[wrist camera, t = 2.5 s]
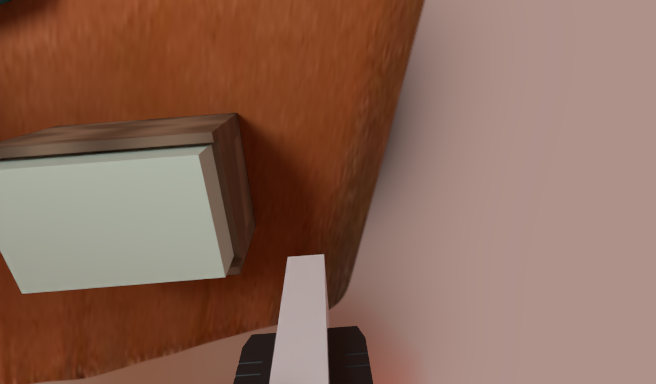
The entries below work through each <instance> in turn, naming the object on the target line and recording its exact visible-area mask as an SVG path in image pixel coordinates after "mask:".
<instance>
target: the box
mask: <svg viewBox="0 0 656 384" xmlns="http://www.w3.org/2000/svg"><path fill="white" fill-rule="evenodd" d="M201 144H211V146H212V151H213V156H214V161H215V165H216V170H217V175H218V180H219V185H220V190H221V195H222V200H223V205H224V210H225V214H226V219H227V224H228V229H229V234H230V239H231V244H232V249H233V254H234V257H233V259H232V262H231V265H230V267H229V270H228V272H227V275H236V274H240V273H241V270H242V267H243V264H244V261H245V258H246V255H247V252H248V249H249V246H250V243H251V240H252V237H253V234H254V231H255V228H256V224H255V218H254V212H253V206H252V200H251V194H250V188H249V182H248V176H247V170H246V164H245V158H244V152H243V146H242V140H241V134H240V128H239V122H238V117H237V113H231V114H217V115H204V116H190V117H177V118H163V119H149V120H136V121H122V122H109V123H95V124H82V125H68V126H55V127H52V128H48V129H44V130H41V131H37V132H34V133H30V134H26V135H23V136H19V137H15V138H12V139H8V140H5V141H1V142H0V160H1V159H14V158H28V157H41V156H54V155H68V154H81V153H94V152H107V151H121V150H134V149H147V148H161V147H174V146H187V145H201Z"/></svg>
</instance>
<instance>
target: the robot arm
mask: <svg viewBox="0 0 656 384" xmlns="http://www.w3.org/2000/svg"><path fill="white" fill-rule="evenodd" d="M233 384H373V380H372V374H371V369H370V363H369V357H368V351H367V345H366V339H365V337H364V335H363V334H362V333H361V331H360V330H359V328H358V327H357V326H352V327H351V326H350V327H337V328H329V310H328V297H327V285H326V273H325V261H324V254H320V255H306V256H293V257H288V259H287V266H286V272H285V279H284V286H283V293H282V300H281V306H280V313H279V320H278V327H277V333H269V334H256V335H251V337H250V338H249V340H248V341H247V343H246V344H245V345H244V346H243V348H242V352H241V356H240V360H239V365H238V368H237V371H236V378H235V379H234V383H233Z"/></svg>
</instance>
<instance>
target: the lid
mask: <svg viewBox="0 0 656 384" xmlns="http://www.w3.org/2000/svg"><path fill="white" fill-rule="evenodd" d="M0 251H1V253H2V255H3V257H4V259H5V261H6V263H7V265H8V267H9V269H10V271H11V273H12V275H13V277H14V279H15V281H16V283H17V285H18V287H19V288H20V290H21V292H22V294H25V293H38V292H50V291H62V290H75V289H87V288H99V287H112V286H124V285H137V284H149V283H161V282H174V281H186V280H198V279H211V278H223V277H226V275H227V272H228V270H229V267H230V265H231V262H232V259H233V257H234V254H233V249H232V244H231V239H230V234H229V229H228V224H227V219H226V214H225V210H224V205H223V200H222V195H221V190H220V185H219V180H218V175H217V170H216V165H215V161H214V156H213V151H212V146H211V144H201V145H187V146H174V147H161V148H147V149H134V150H121V151H107V152H94V153H81V154H68V155H54V156H41V157H28V158H14V159H1V160H0Z"/></svg>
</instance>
